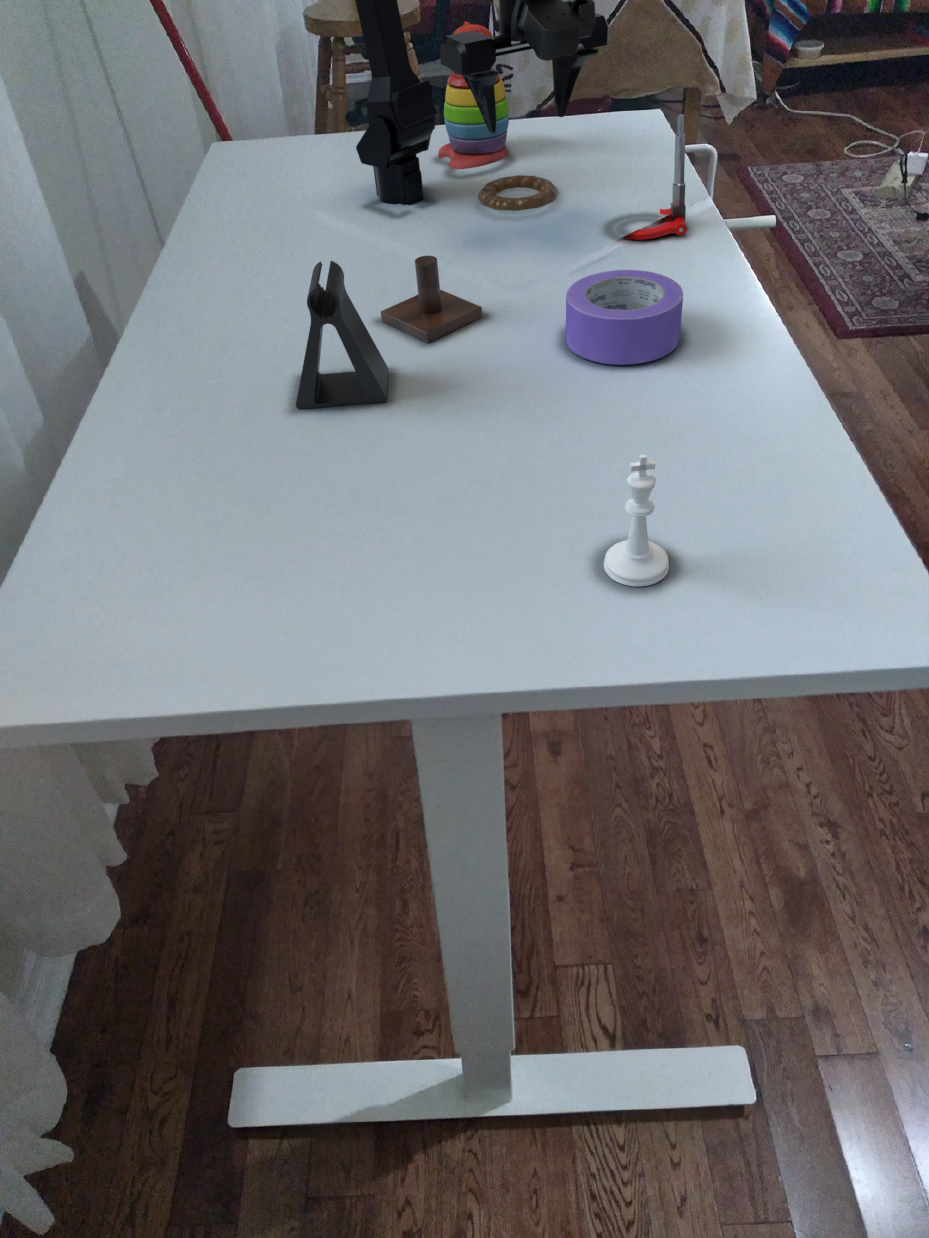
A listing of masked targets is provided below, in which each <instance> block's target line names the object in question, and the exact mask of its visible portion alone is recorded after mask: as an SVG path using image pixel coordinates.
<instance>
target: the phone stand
mask: <svg viewBox="0 0 929 1238" xmlns="http://www.w3.org/2000/svg"><path fill="white" fill-rule="evenodd" d="M322 268H323V263H322V261H319V262H318V263H316V264H315V266H314V267H313V269H312V274H311V278H310V283H309V288H308V293H307V298H306V305H307V309H308V311H309V316H310V326H309V331H308V337H307V342H306V347H305V353H304V359H303V363H302V368H301V369H302V370H301V375H300V380H299V386H298V391H297V396H296V402H295V407H296V408H297V409H298V410H305V409H317V408H328V407H329V408H331V407H340V406H341V405H343V406H355V405H368V404H379V403H380V404H381V403H386V402H387V401H388V387H389V386H388V385H389V384H388V383H389V367H388V365H387V363H386V361H385V359H384V358H383V356H382V354H381V352H380V350H379V349H378V346H377V345H376V343H375V342H374V339H373V338H372V336H371V334H370V332H369V331H368V328H367V327H366V325H365V323H364V321H363V320H362V318H361V316H360V314H359V312H358V311H357V309H356V307H355V305H354V303H353V301H352V300H351V298H350V296H349V294H348V292H347V289H346V286H345V285H346V284H345V274H344V270H343V268H342V267H341V266H340V264H338V263H337V262H336V261H333V260H330V262H329V267H328V273H327V279H326V284H325V289H324V286H322V284H320V279H321V273H322ZM325 325H332V326H333V327H334V328H335V330H336V332H337V335H338V337H339V338H340V341H341V343H342V345H343V347H344V350H345V352H346V353H347V356H348V358H349V360H350V363H351V365H352V367H353V369H354V371H344V372H332V373H320V365H321V353H322V342H323V332H324V326H325Z"/></svg>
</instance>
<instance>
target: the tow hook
mask: <svg viewBox="0 0 929 1238" xmlns="http://www.w3.org/2000/svg"><path fill="white" fill-rule="evenodd" d="M676 128H677V129H676V132H677V133H675V135H674V136H675V138H674V168H673V169H674V170H673V171H674V172H673V173H674V174H673V182H672V189H671V190H672V192H671V193H672V194H671V202H670V208H659V214H660V215H662V216H664V217H662V218H660V219H659V220H660V221H663V223H662V224H660V225H657V226H654V227H650V228H638V229H636V230H635V231H631V232H630V233H628V234H626V235H623V236H622V237H621V239H625V240H634V241H638V240H640V241H641V240H642V241H643V240H651V239H657V238H662V237H663V236H667V235H668V234H676V235H677V236H684V235H685V234H686V233H687V231H688V228H687V225H686V224H687V223H686V215H687V214H686V213H687V207H686V182H685V163H686V162H685V161H686V160H685V158H686V136H687V135H686V133H685V114H683V113H680V114H677V127H676ZM664 221H665V222H664Z"/></svg>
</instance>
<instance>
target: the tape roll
mask: <svg viewBox="0 0 929 1238" xmlns="http://www.w3.org/2000/svg"><path fill="white" fill-rule="evenodd" d="M683 303H684V290H683V288H682V286H681V285H680V284H679V283H678V282H677V281H676V280H674V279H673V278H671V277H669V276H666V275H663V274H661V273H656V272H653V271H648V270H640V269H614V270H606V271H601V272H596V273H593V274H590V275H586V276H584V277H582V278H580V279H578V280H576V281H575V282H573V283H572V284H571V285H570V286H569V287H568V288H567V291H566V293H565V343H566V346H567V348H568V349H569V350H570V351H571V352H572V353H574V354H575V355H577V356H578V357H580V358H583V359H585V360H587V361H591V362H595V363H600V364H605V365H615V366H616V365H618V366H623V365H626V366H627V365H628V366H629V365H638V364H644V363H648V362H652V361H656V360H659V359H661V358H664V357H666V356H667V355H669V354H671V353H672V352H673V351H674V350H675V349H676V348H677V346H678V345H679V343H680V340H681V327H682V313H683Z"/></svg>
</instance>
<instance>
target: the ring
mask: <svg viewBox="0 0 929 1238" xmlns="http://www.w3.org/2000/svg"><path fill="white" fill-rule="evenodd" d="M516 188H520V189H523V188H525V189H532V190H535V191H538V193H535V194H532V195H528V196H521V197H506V196H505V197H503V196H500V195H498V194H499V193H501V192H503V191H506V190H509V189H510V190H511V189H516ZM558 194H559V191H558V189H557V187H556V186H555V185H554V184H553V182H552V181H551V180H549V179H548V178H544V177H542V176H541V177H540V176H536V175H525V174H524V175H521V174H517V175H510V176H505V177H499V178H497V179H494V180H492V181H489V182H487V183H486V184H485V185H484V186H483V187H482V188H481V189H480V190H479V193H478V195H477V199H478V200H479V202H480V203H481V205H482V206H484V207H486V208H489V209H493V210H497V211H511V212H512V211H513V212H518V211H519V212H520V211H524V210H533V209H538V208H540V207H543V206H546V205H547V204H551V202H553V201H555V199H556V197H557V196H558Z"/></svg>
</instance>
